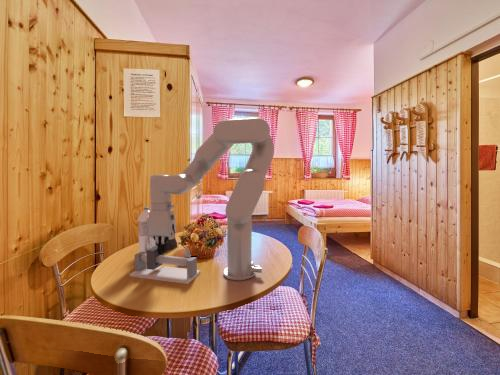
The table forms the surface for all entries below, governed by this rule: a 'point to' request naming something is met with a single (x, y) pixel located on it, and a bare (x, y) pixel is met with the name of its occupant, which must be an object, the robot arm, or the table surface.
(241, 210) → the robot arm
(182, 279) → the slider rail stand
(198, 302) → the table surface
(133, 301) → the table surface
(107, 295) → the table surface
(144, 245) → the water bottle
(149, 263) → the collar
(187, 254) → the skincare box
